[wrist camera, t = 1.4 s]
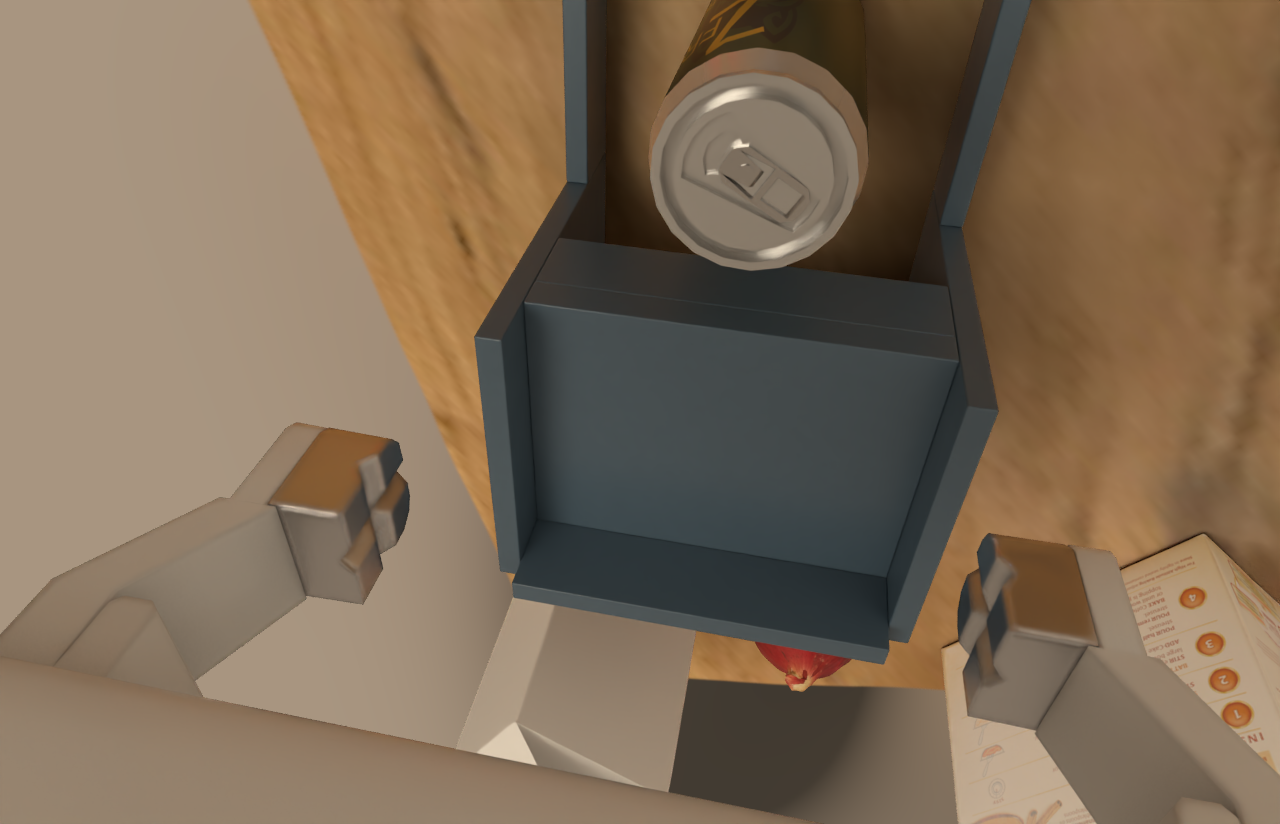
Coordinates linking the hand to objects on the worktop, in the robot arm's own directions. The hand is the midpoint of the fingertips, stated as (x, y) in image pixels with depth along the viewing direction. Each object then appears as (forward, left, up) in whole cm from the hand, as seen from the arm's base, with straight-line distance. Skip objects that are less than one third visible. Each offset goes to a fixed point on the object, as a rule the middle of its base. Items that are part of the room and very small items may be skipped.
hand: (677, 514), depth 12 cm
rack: (+5, 0, -23) cm, 24 cm away
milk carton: (+26, -5, -23) cm, 35 cm away
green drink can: (0, 0, -23) cm, 23 cm away
